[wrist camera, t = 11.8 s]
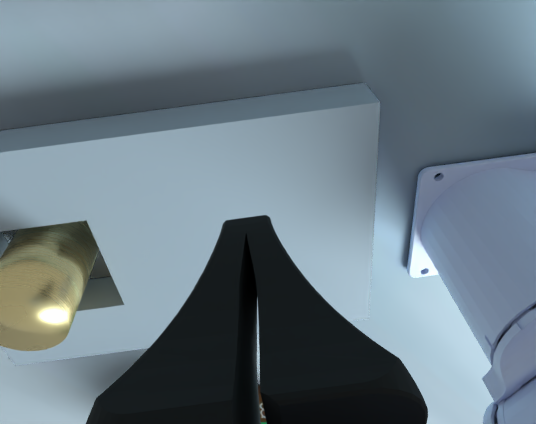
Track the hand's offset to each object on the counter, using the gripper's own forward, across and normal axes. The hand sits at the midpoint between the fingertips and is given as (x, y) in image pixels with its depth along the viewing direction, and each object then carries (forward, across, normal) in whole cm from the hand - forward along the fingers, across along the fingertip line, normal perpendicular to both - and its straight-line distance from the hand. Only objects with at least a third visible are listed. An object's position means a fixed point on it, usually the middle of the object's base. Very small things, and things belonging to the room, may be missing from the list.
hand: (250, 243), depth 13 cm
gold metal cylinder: (+9, +11, +6) cm, 16 cm away
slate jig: (+9, +5, +6) cm, 12 cm away
